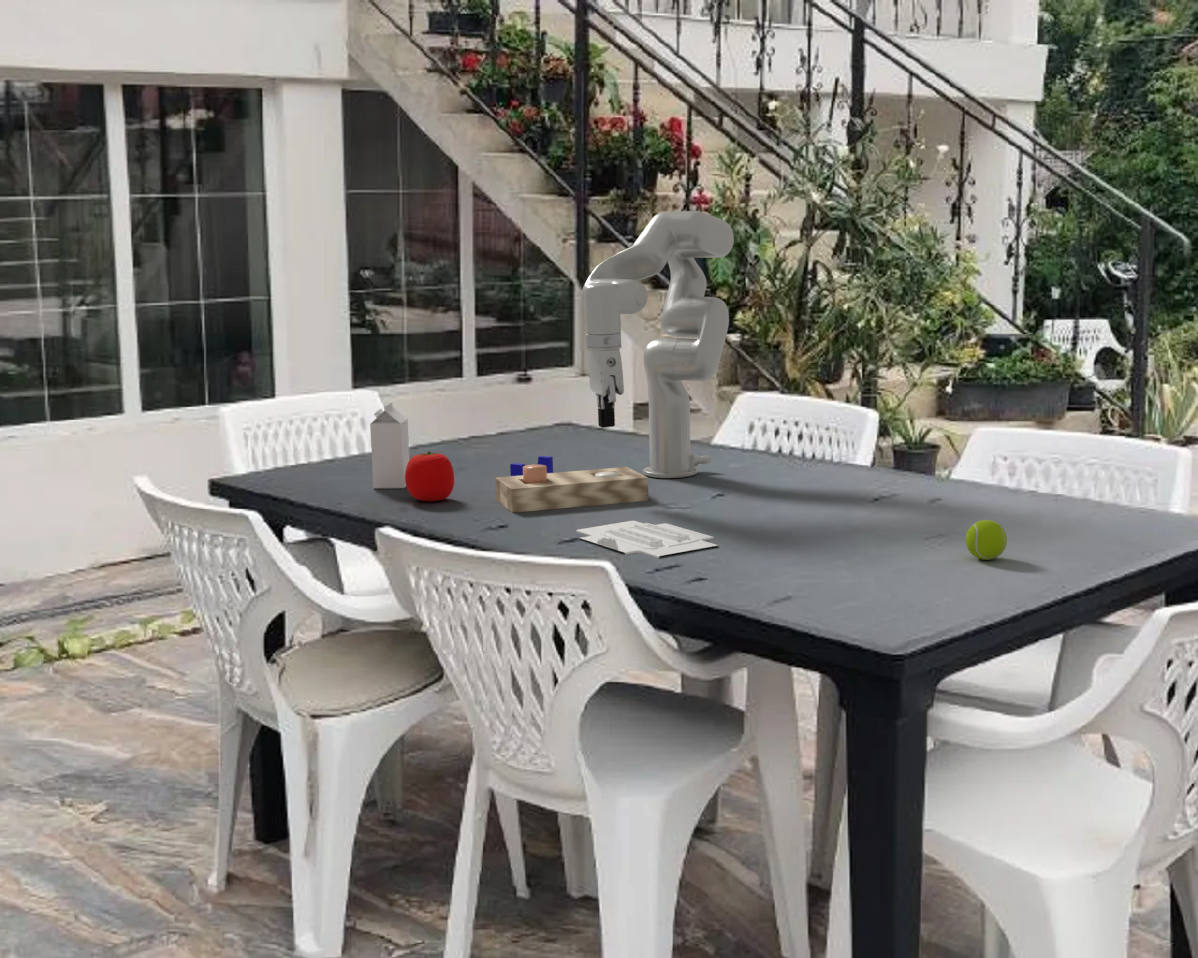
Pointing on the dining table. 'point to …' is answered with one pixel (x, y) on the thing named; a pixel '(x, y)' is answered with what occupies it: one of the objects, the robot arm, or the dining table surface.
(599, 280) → the robot arm
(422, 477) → the tomato
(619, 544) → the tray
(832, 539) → the dining table surface
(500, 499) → the housing
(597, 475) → the white domed cylinder
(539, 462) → the cable clip
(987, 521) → the tennis ball
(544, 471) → the peach rounded piece
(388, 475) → the milk carton
